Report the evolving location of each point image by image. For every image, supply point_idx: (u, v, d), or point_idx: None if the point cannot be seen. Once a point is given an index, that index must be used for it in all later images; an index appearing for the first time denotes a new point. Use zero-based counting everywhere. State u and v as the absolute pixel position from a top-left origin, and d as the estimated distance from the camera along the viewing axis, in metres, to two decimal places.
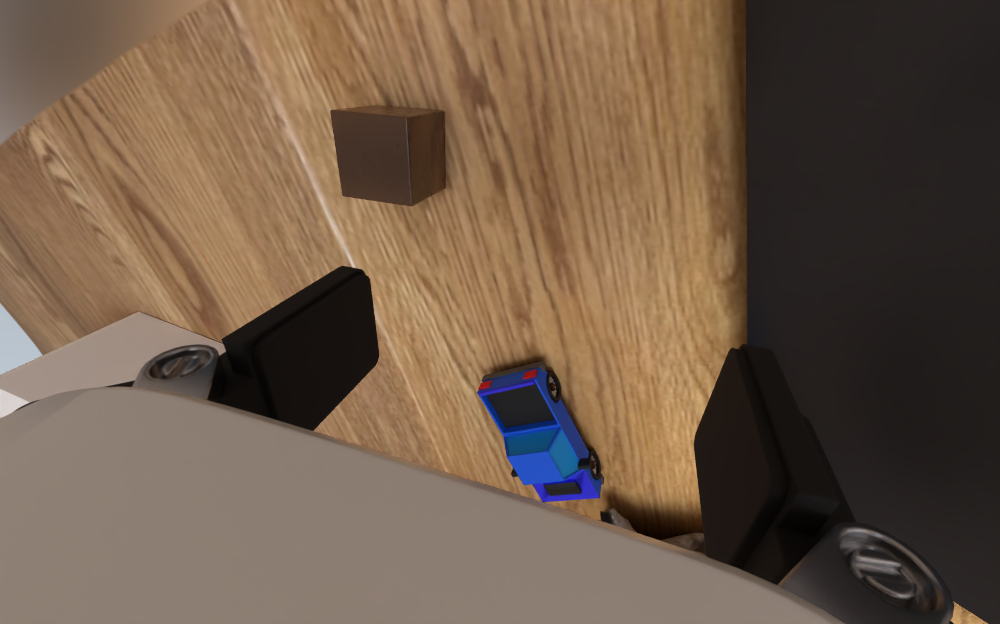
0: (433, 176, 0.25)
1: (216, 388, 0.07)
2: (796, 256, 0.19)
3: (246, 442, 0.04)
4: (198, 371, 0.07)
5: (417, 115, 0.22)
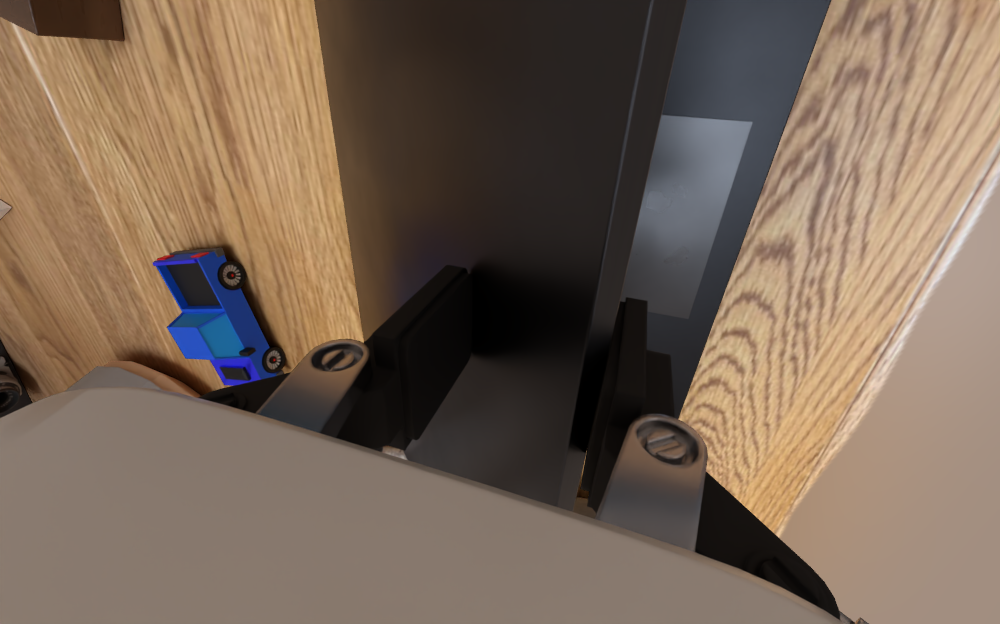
0: (90, 18, 0.25)
1: (354, 392, 0.08)
2: (349, 181, 0.22)
3: (246, 442, 0.04)
4: (346, 370, 0.08)
5: None
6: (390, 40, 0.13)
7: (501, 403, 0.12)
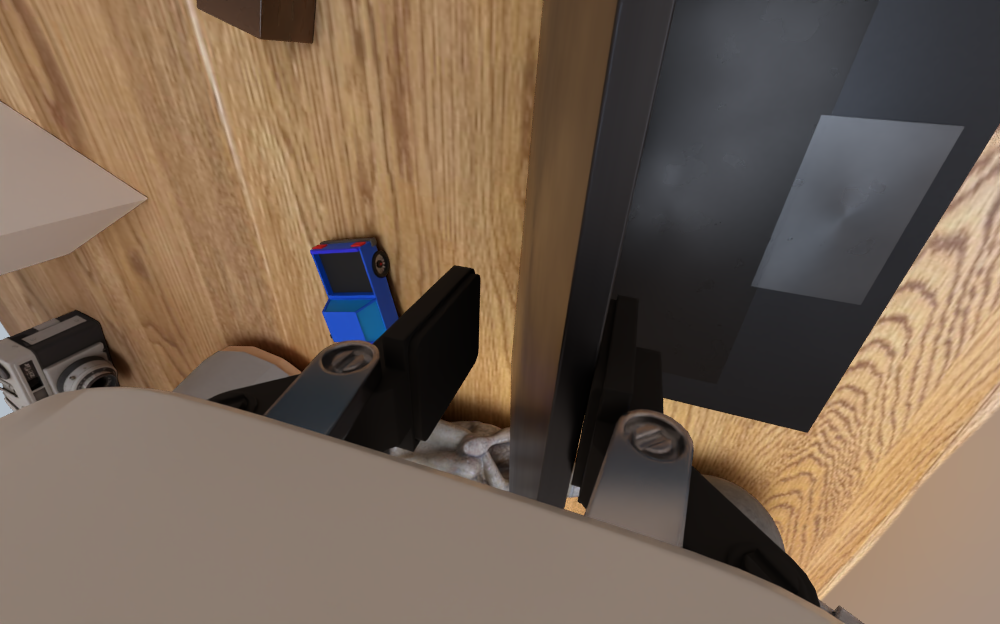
0: (295, 23, 0.27)
1: (363, 394, 0.07)
2: (529, 174, 0.24)
3: (246, 443, 0.04)
4: (355, 372, 0.08)
5: None
6: (553, 42, 0.14)
7: (535, 396, 0.12)
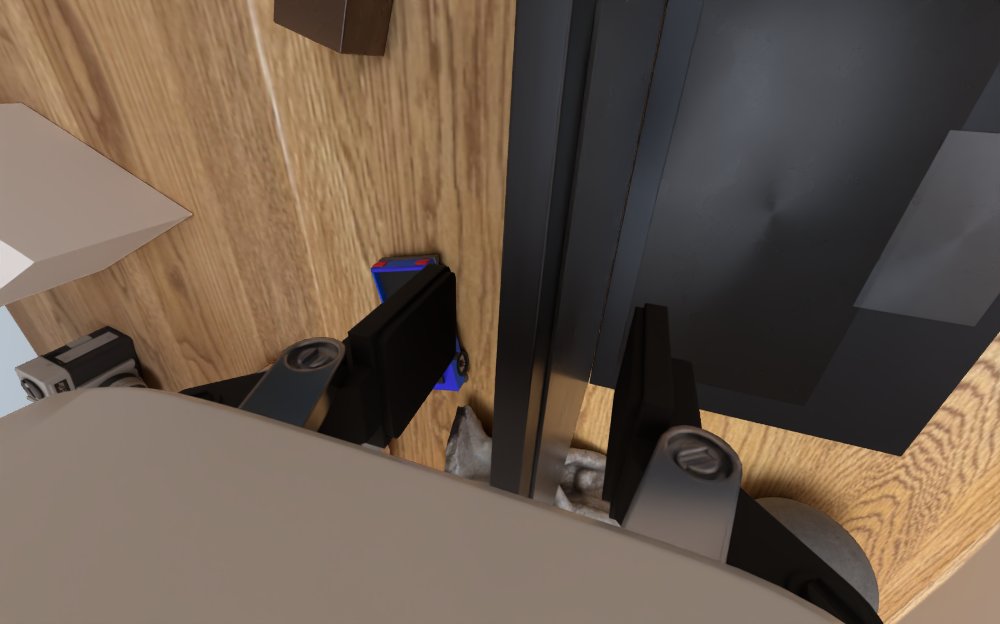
0: (371, 36, 0.26)
1: (332, 388, 0.08)
2: None
3: (246, 443, 0.04)
4: (322, 367, 0.08)
5: None
6: None
7: None
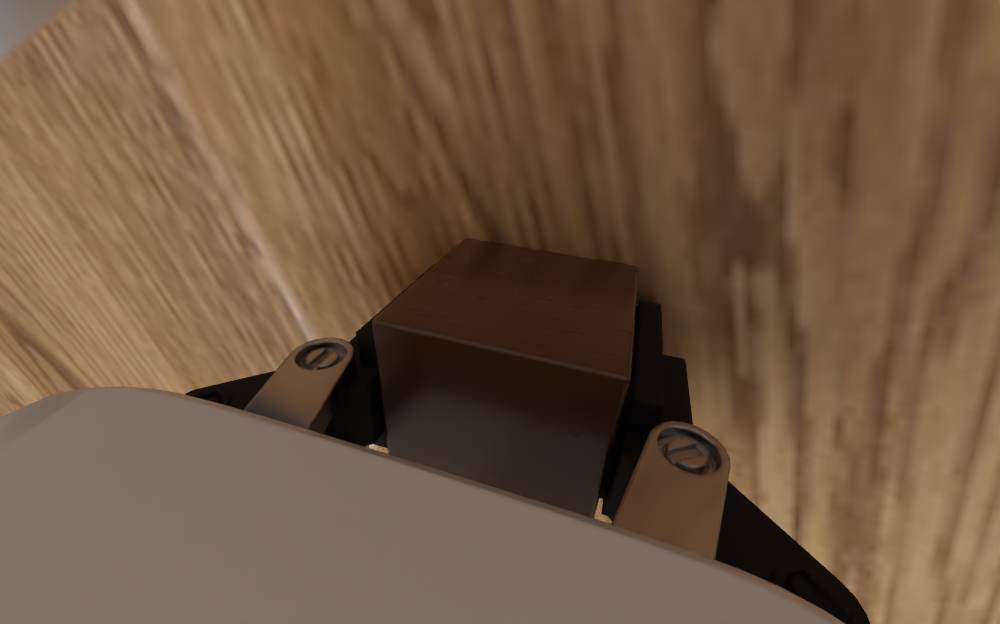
0: None
1: (340, 389, 0.08)
2: None
3: (246, 443, 0.04)
4: (330, 368, 0.08)
5: (629, 336, 0.07)
6: None
7: None
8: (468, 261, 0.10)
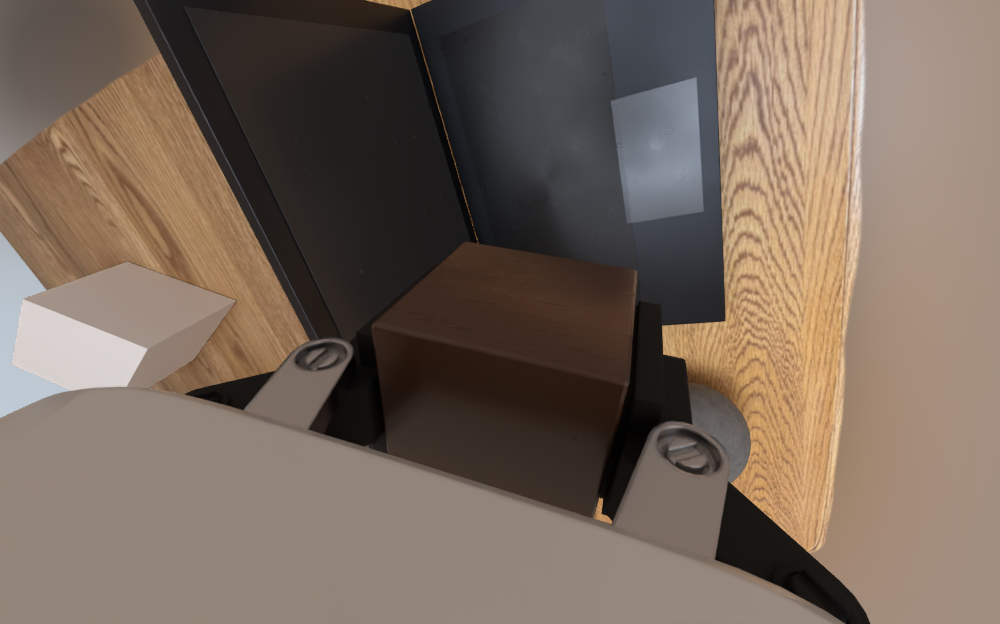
0: None
1: (339, 389, 0.08)
2: None
3: (246, 442, 0.04)
4: (330, 368, 0.08)
5: (628, 340, 0.07)
6: None
7: None
8: (467, 264, 0.10)
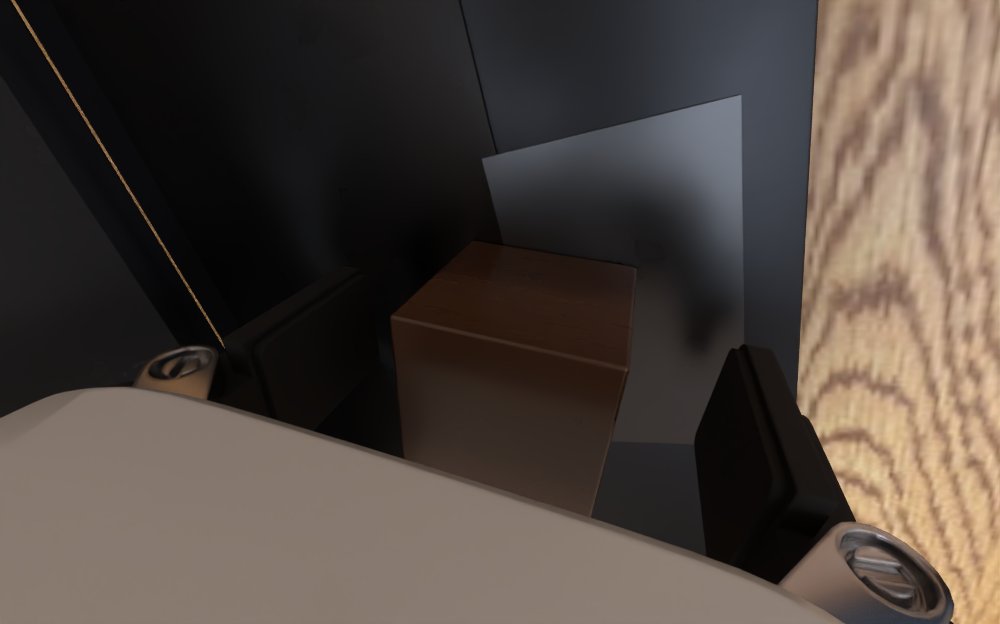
0: None
1: (216, 389, 0.07)
2: None
3: (246, 443, 0.04)
4: (198, 371, 0.07)
5: (628, 331, 0.08)
6: None
7: None
8: (476, 262, 0.10)
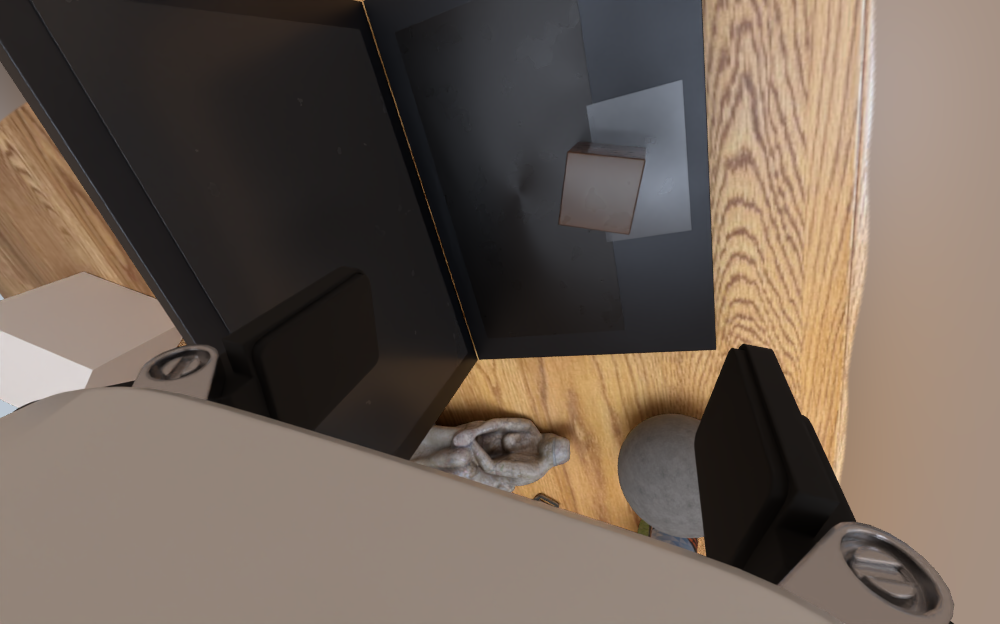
0: None
1: (216, 389, 0.07)
2: None
3: (247, 443, 0.04)
4: (198, 371, 0.07)
5: (644, 156, 0.25)
6: None
7: None
8: (585, 145, 0.27)
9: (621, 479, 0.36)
